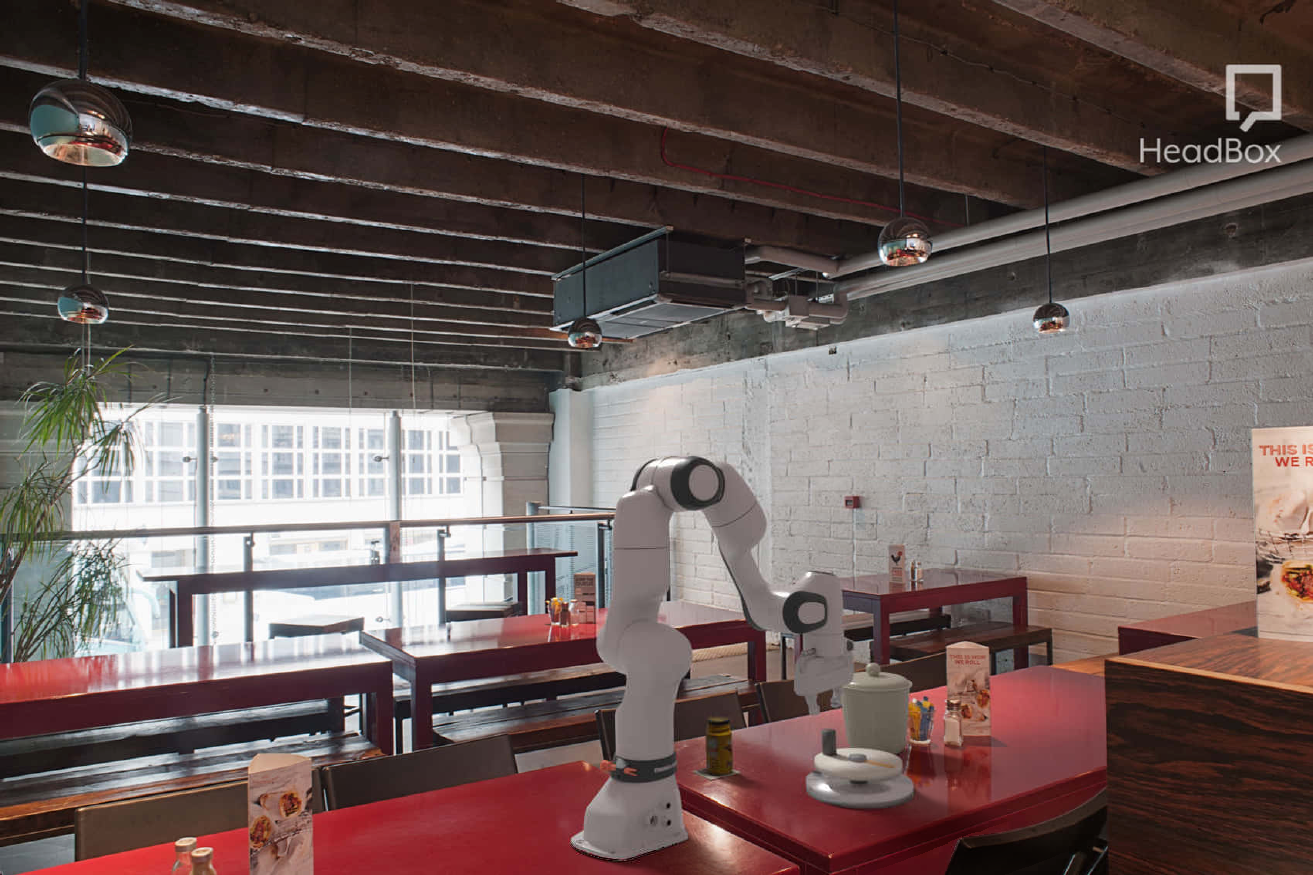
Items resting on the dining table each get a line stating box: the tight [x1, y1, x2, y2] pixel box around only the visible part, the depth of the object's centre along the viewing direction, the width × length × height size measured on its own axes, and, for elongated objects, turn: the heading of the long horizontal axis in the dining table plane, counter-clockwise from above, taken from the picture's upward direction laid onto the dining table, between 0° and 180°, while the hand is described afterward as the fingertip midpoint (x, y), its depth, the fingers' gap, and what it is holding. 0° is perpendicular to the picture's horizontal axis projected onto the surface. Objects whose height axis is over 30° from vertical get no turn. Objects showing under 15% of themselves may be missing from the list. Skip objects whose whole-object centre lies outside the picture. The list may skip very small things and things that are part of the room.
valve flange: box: [805, 769, 915, 810], centre depth 184 cm, size 22×22×4 cm
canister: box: [841, 662, 913, 756], centre depth 214 cm, size 18×18×21 cm
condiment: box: [691, 715, 741, 780], centre depth 200 cm, size 7×8×12 cm
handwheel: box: [814, 728, 903, 781], centre depth 185 cm, size 18×18×6 cm
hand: (825, 710), depth 190 cm, fingers open, 8 cm apart
